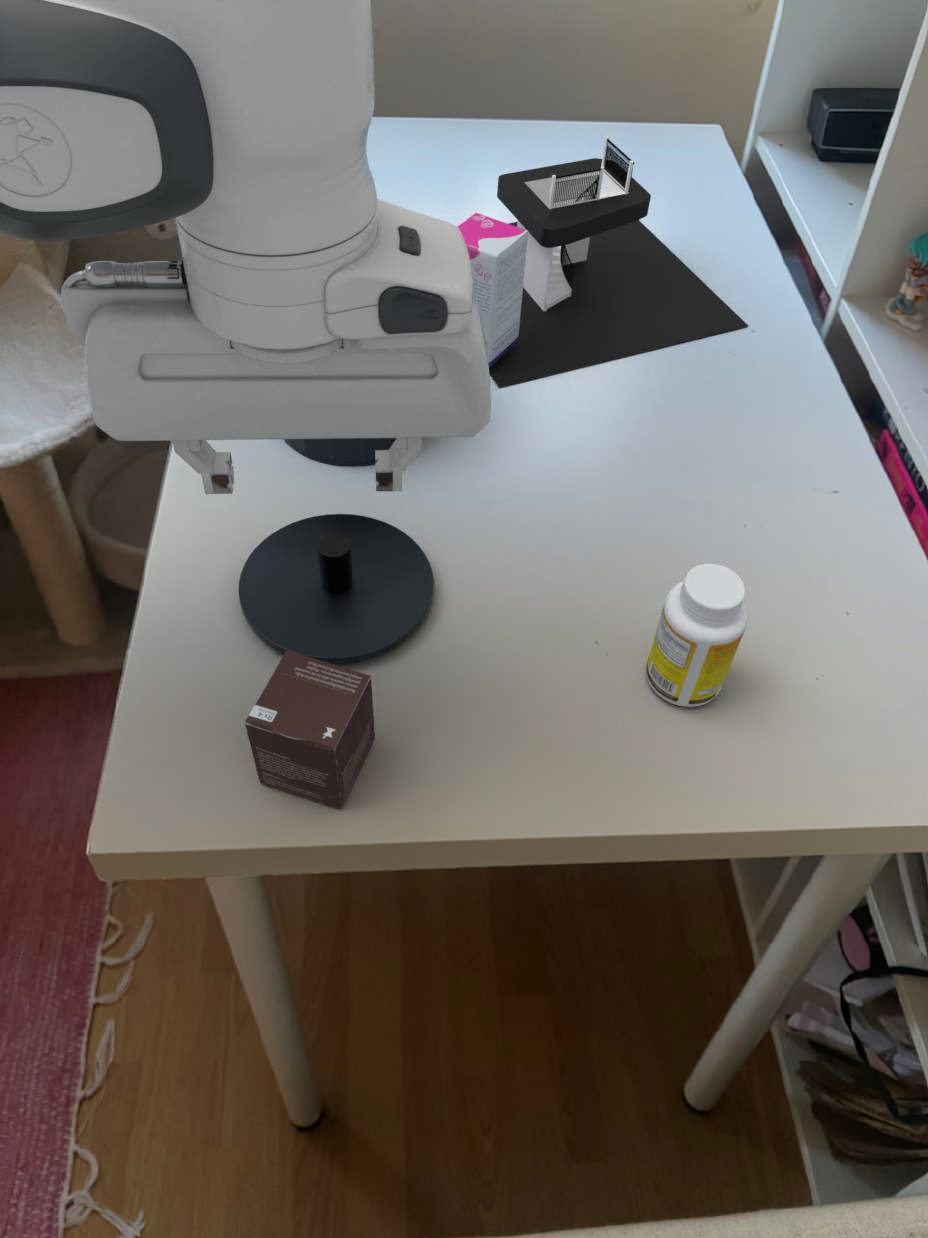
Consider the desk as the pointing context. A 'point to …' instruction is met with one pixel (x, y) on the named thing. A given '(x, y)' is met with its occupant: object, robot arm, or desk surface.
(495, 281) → the supplement box
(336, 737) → the box
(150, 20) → the robot arm
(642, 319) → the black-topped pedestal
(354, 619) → the bin lid
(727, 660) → the supplement bottle
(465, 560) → the desk surface
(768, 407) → the desk surface
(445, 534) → the desk surface
